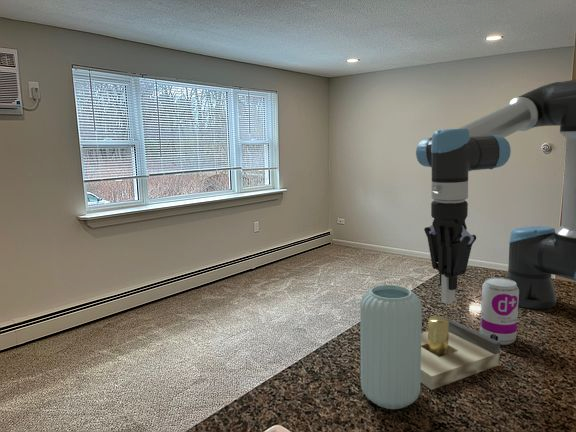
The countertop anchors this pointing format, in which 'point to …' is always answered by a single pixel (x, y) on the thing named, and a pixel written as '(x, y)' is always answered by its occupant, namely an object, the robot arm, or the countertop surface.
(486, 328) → the supplement can
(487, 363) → the jig
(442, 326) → the brass cylinder
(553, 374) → the countertop surface
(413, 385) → the vase
